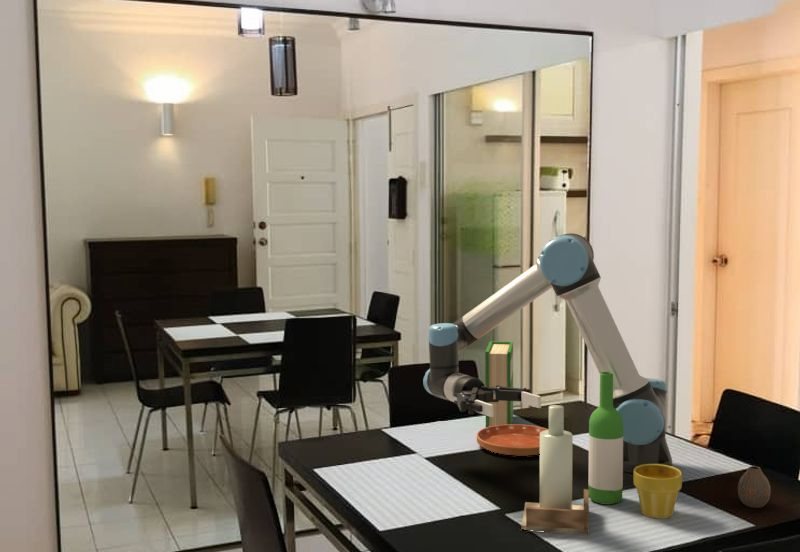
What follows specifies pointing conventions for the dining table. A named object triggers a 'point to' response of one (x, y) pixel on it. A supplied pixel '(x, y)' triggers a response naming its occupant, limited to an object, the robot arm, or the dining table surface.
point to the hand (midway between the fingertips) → (516, 406)
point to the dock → (557, 518)
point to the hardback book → (499, 379)
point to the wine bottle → (606, 447)
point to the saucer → (511, 439)
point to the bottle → (556, 462)
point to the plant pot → (657, 489)
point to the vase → (754, 488)
